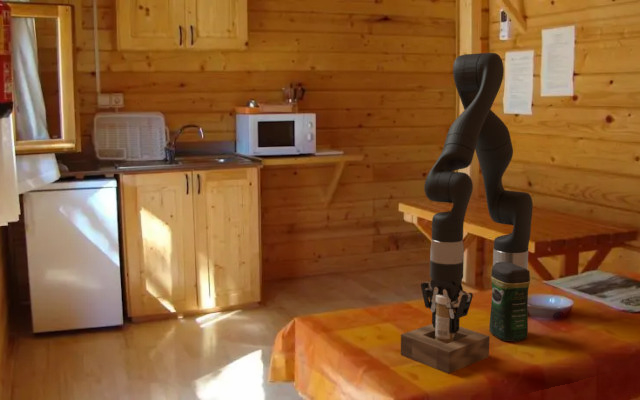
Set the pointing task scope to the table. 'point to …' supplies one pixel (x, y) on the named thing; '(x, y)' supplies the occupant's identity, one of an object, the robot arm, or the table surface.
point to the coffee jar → (509, 301)
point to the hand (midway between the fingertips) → (445, 329)
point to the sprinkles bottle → (443, 320)
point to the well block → (445, 348)
